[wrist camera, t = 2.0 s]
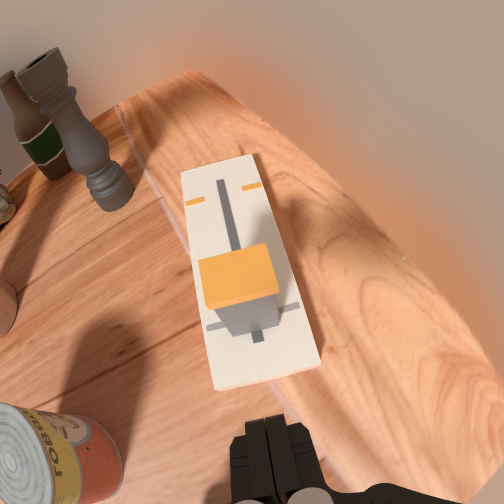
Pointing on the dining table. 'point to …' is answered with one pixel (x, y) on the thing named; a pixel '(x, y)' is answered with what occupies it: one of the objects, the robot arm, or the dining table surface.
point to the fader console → (234, 238)
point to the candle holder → (76, 130)
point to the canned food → (56, 458)
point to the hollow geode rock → (6, 205)
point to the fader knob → (241, 289)
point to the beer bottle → (35, 130)
